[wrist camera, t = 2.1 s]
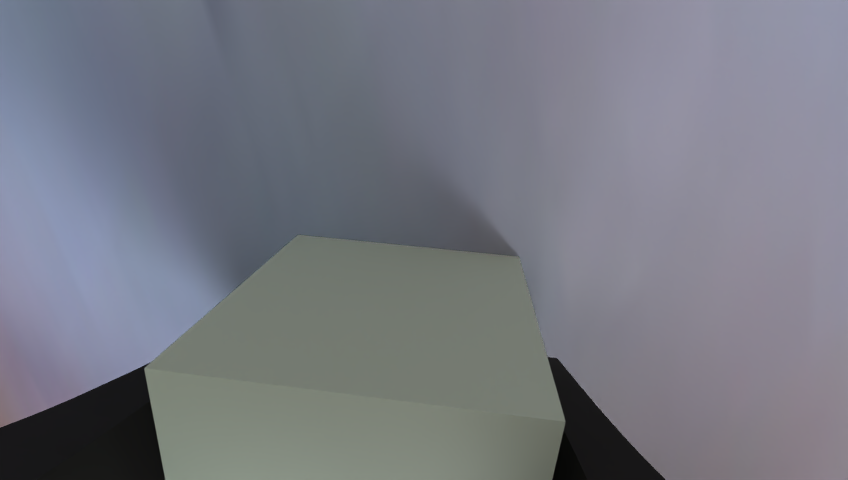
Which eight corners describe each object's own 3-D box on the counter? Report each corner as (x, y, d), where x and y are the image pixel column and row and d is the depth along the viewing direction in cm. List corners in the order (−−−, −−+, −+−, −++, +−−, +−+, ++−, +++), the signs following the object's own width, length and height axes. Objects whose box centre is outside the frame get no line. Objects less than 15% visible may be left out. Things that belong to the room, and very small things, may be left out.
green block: (518, 255, 9) (564, 422, 5) (491, 432, 11) (505, 679, 7) (299, 233, 10) (144, 368, 5) (305, 407, 12) (193, 626, 7)
